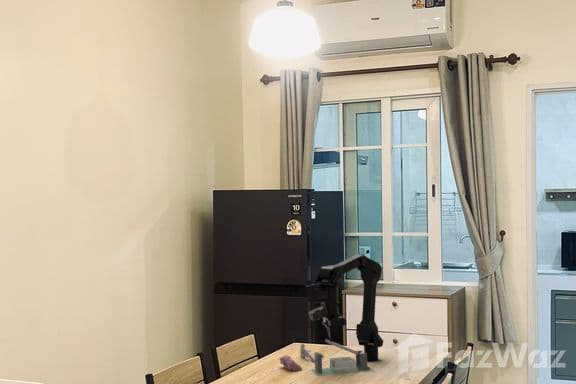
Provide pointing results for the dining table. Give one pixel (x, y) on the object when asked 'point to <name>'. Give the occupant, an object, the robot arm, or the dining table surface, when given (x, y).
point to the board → (328, 371)
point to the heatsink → (343, 364)
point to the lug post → (318, 362)
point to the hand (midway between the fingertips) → (332, 341)
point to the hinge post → (362, 361)
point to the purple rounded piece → (290, 363)
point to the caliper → (306, 353)
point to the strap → (343, 347)
